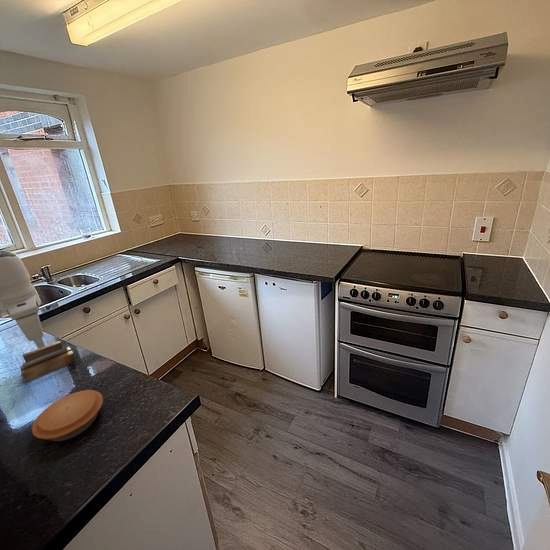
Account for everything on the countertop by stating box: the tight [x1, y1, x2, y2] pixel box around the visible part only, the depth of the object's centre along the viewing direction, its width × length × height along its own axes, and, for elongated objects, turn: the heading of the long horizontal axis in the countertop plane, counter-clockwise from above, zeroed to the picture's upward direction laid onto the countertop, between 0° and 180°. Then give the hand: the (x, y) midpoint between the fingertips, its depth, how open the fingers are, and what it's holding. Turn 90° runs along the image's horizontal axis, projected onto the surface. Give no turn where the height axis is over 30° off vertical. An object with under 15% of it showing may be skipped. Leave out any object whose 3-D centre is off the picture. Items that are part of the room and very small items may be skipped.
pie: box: [31, 389, 104, 442], centre depth 76 cm, size 15×16×5 cm
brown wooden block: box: [21, 340, 68, 369], centre depth 98 cm, size 12×2×7 cm, turn 132°
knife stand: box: [19, 346, 77, 383], centre depth 99 cm, size 14×6×4 cm, turn 132°
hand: (39, 341), depth 96 cm, fingers open, 8 cm apart
